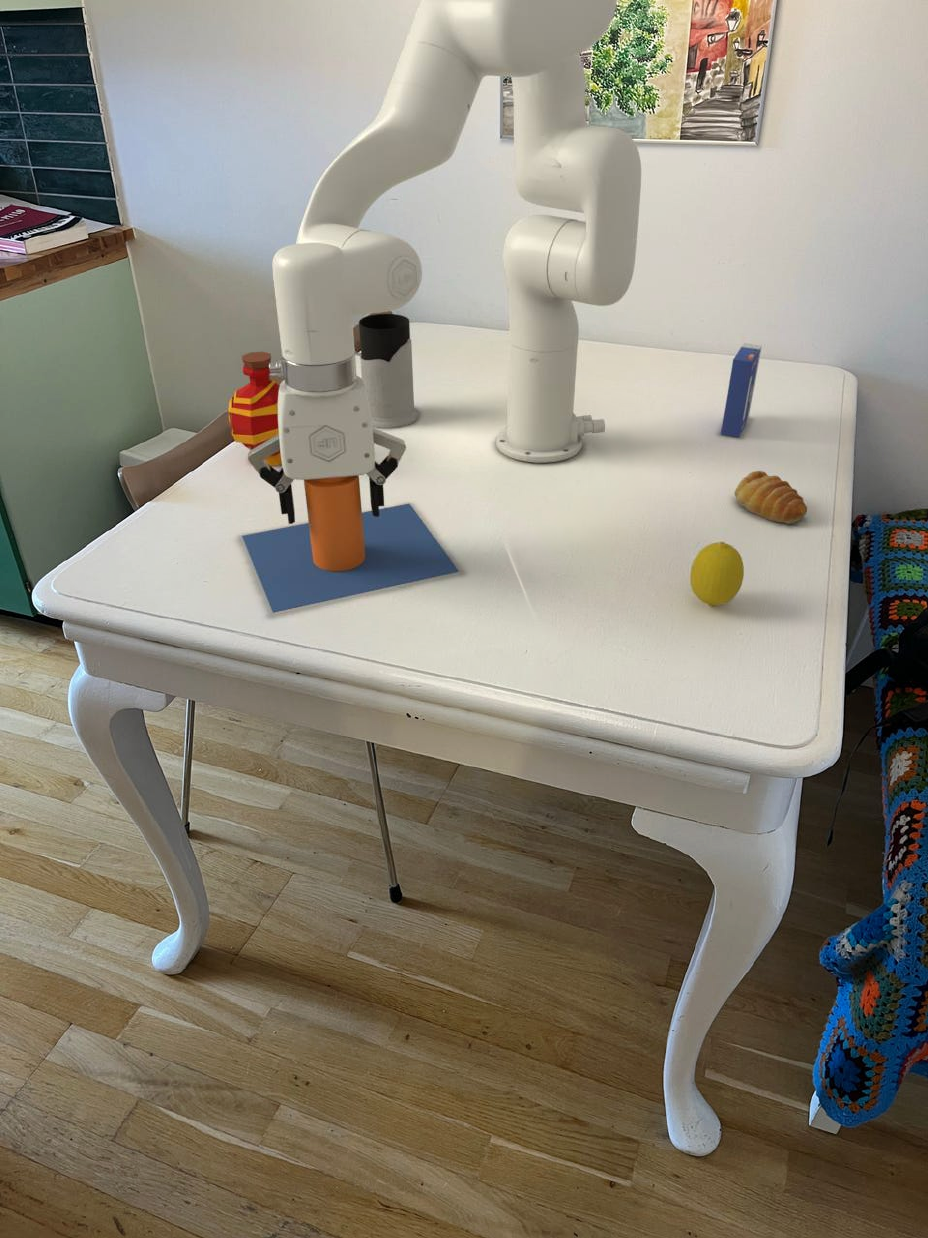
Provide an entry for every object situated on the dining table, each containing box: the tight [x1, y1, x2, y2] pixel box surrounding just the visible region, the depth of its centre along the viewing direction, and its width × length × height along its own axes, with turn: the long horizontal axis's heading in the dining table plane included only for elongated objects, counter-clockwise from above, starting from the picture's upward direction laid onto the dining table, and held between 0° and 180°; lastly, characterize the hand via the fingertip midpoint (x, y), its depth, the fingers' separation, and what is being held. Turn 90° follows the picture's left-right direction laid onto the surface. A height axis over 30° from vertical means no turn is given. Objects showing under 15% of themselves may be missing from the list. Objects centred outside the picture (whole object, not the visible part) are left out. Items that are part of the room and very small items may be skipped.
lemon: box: [689, 541, 745, 607], centre depth 100 cm, size 6×6×8 cm
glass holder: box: [354, 313, 418, 429], centre depth 142 cm, size 9×14×15 cm, turn 71°
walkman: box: [720, 342, 762, 439], centre depth 138 cm, size 8×3×12 cm, turn 155°
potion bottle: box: [227, 351, 282, 467], centre depth 129 cm, size 10×10×15 cm
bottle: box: [303, 475, 365, 572], centre depth 105 cm, size 6×6×17 cm
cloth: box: [241, 503, 460, 613], centre depth 111 cm, size 22×18×1 cm
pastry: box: [734, 470, 808, 525], centre depth 119 cm, size 9×7×4 cm
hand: (333, 514), depth 107 cm, fingers open, 9 cm apart
